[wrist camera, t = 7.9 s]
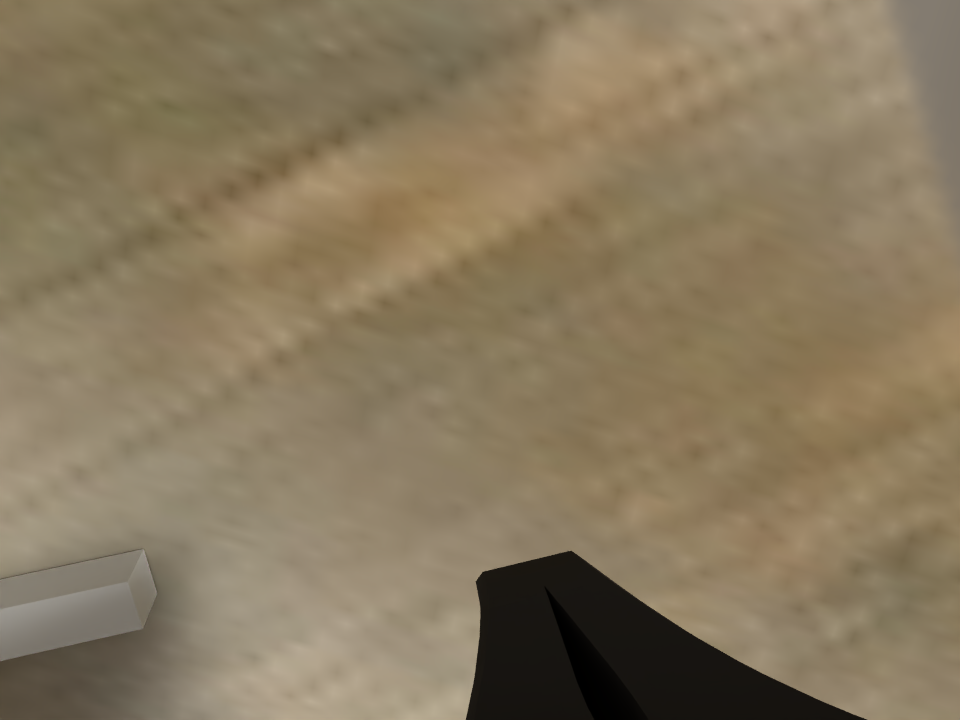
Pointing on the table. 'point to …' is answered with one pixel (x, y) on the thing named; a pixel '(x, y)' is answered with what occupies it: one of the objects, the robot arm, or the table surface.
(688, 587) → the table surface
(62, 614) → the frame
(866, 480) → the table surface
